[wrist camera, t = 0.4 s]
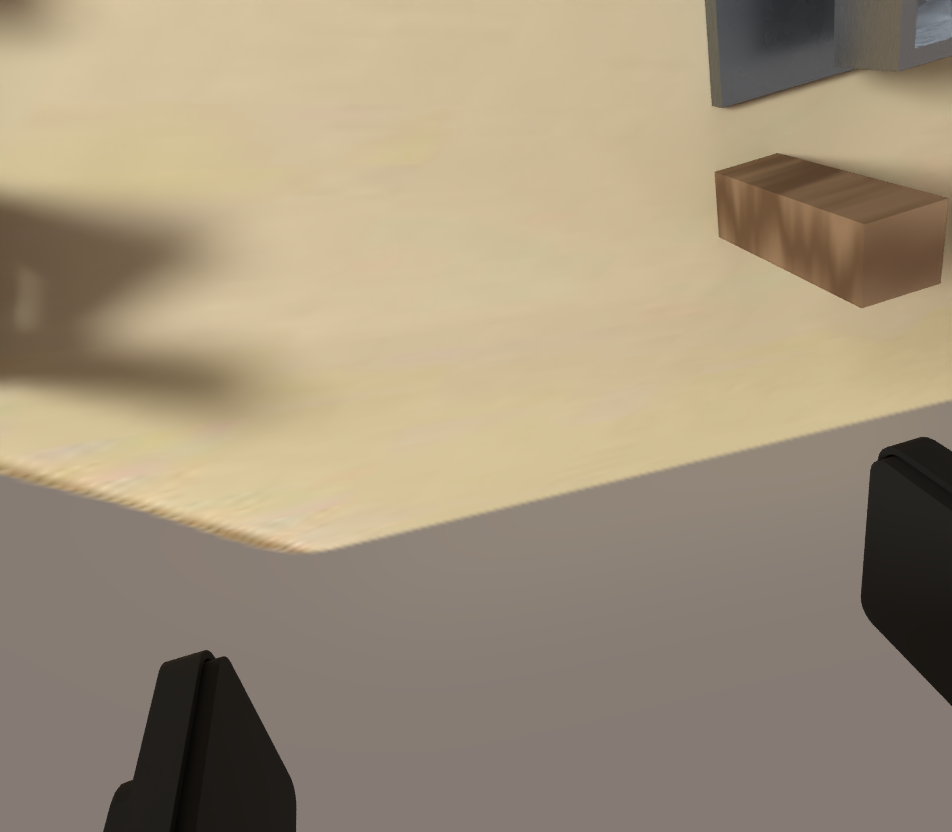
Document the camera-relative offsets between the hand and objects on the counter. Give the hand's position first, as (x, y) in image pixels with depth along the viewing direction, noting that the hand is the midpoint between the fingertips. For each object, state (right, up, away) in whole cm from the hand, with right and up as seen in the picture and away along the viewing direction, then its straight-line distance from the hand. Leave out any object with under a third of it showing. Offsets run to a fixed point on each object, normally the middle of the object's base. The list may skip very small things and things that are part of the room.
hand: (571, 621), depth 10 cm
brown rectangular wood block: (+16, +17, +36) cm, 43 cm away
